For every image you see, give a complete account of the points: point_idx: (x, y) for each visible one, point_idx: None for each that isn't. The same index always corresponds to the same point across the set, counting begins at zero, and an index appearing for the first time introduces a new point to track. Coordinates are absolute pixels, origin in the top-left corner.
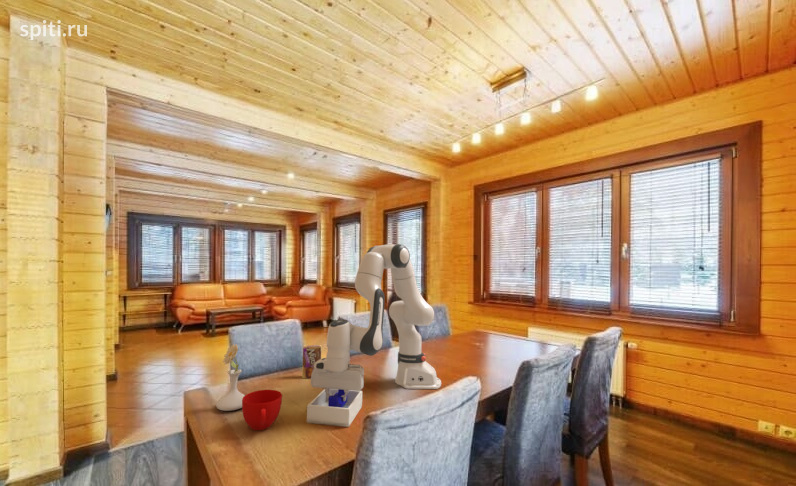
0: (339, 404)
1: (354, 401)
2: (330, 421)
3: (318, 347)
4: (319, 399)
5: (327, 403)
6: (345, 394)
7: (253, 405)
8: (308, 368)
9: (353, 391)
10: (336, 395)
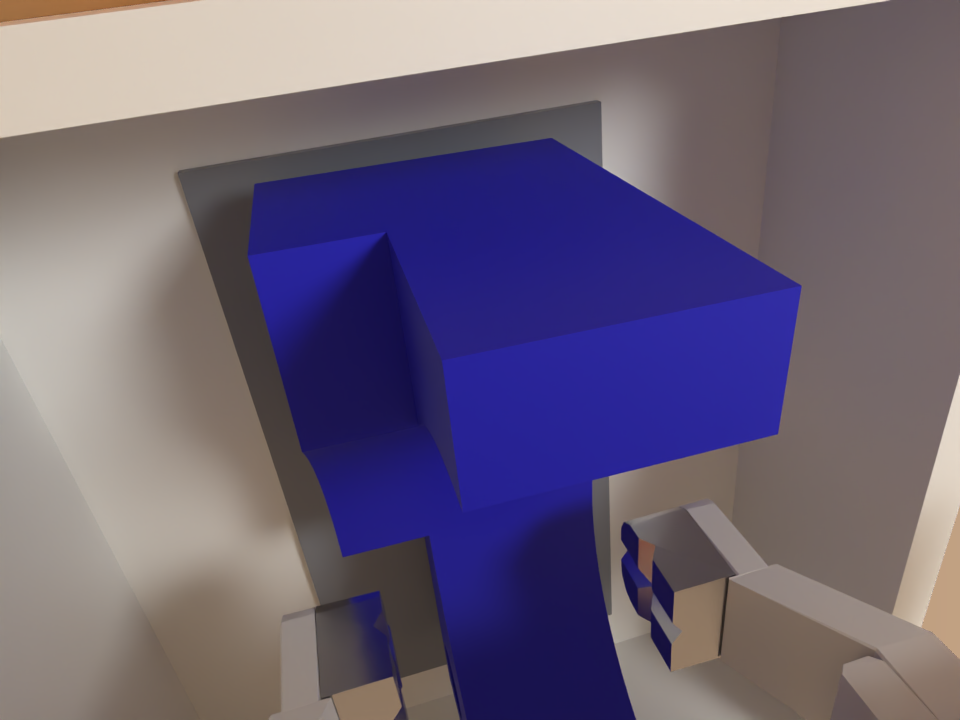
0: (608, 622)
1: (928, 586)
2: None
3: None
4: (38, 666)
5: (42, 228)
6: (814, 702)
7: None
8: None
9: (844, 5)
10: (385, 430)
